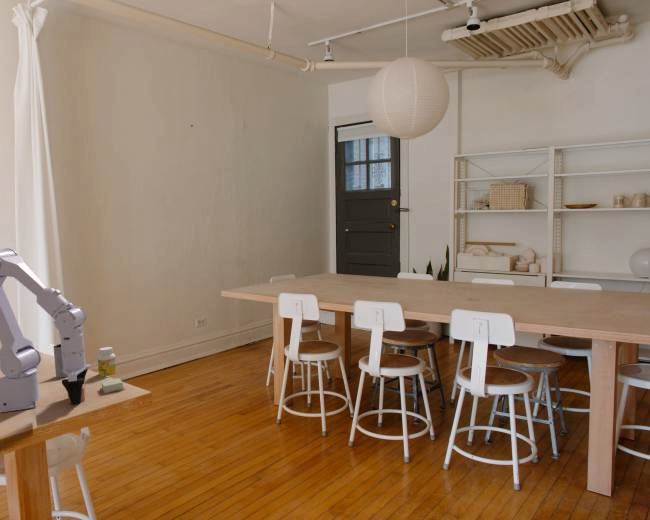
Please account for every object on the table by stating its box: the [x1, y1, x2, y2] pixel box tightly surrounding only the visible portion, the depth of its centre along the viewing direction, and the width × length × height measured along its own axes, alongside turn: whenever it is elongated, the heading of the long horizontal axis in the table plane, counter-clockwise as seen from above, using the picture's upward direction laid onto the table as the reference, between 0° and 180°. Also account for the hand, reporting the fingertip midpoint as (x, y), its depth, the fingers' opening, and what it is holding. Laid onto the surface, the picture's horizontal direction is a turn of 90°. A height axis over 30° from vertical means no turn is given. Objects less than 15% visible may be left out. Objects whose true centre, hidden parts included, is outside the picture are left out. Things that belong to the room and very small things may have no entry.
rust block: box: [67, 383, 87, 404], centre depth 148 cm, size 4×4×5 cm
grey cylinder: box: [53, 343, 68, 379], centre depth 175 cm, size 4×4×10 cm
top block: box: [101, 377, 124, 394], centre depth 156 cm, size 5×5×2 cm
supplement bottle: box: [97, 346, 118, 377], centre depth 172 cm, size 5×5×10 cm
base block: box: [100, 386, 126, 395], centre depth 156 cm, size 6×6×2 cm
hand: (77, 399), depth 148 cm, fingers open, 7 cm apart
